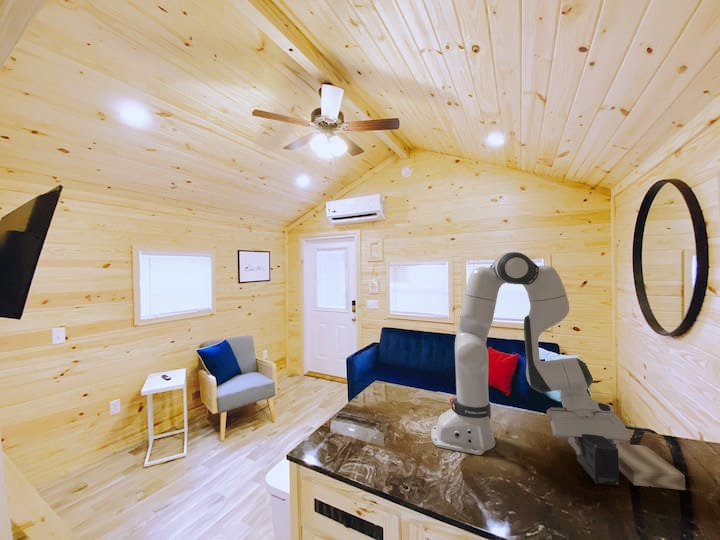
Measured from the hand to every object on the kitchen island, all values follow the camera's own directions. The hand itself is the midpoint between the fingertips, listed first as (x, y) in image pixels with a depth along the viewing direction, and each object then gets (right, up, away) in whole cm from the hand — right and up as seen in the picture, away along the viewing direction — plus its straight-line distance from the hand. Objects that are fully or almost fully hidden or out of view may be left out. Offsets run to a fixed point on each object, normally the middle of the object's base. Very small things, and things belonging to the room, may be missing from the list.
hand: (598, 456), depth 87 cm
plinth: (+14, -5, +1) cm, 14 cm away
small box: (0, -6, +1) cm, 6 cm away
